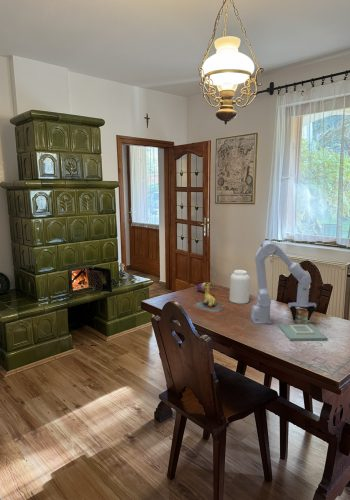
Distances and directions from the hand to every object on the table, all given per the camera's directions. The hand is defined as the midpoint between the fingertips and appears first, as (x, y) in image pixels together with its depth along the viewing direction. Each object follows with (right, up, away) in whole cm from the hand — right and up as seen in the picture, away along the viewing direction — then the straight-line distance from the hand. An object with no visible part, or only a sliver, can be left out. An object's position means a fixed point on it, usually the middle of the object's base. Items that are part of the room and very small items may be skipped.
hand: (301, 319), depth 185 cm
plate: (-4, -4, -13) cm, 14 cm away
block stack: (0, -2, 0) cm, 2 cm away
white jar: (-26, +4, +37) cm, 46 cm away
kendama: (-47, +7, +51) cm, 69 cm away
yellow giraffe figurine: (-47, +3, +26) cm, 54 cm away
